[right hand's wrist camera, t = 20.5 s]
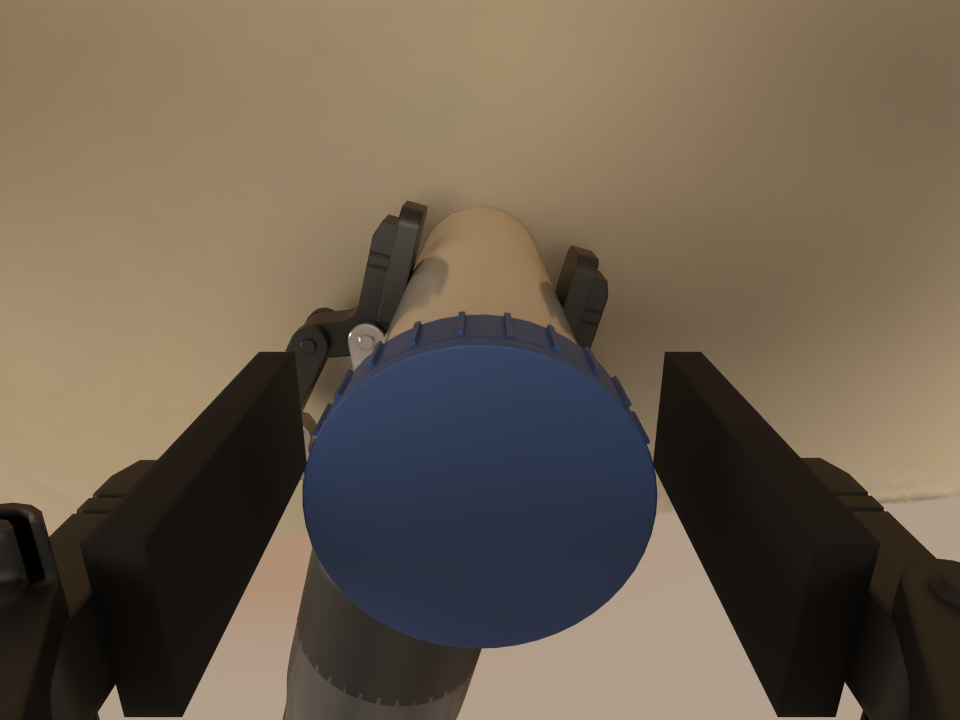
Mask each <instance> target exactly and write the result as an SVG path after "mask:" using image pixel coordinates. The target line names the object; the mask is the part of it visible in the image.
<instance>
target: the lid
mask: <svg viewBox="0 0 960 720" xmlns="http://www.w3.org/2000/svg"><path fill="white" fill-rule="evenodd" d="M334 398H335V401H334V403H333V405H332V404H329V403H328V405H327V407H326V409H325V410H324V412H323V414H322V416H321V418H320V420H319V422H318V424H317V426H316V427H315V429H314V432H313V435H314V436H317V437H316V439H315V441H314V443H313V445H312V447H311V450H310V454H309V457H308V460H307V463H306V467H305V469H304V480H303V511H304V517H305V524H306V528H307V531H308V534H309V537H310V541H311V544H312V546H313V548H314V551H315V553H316V555H317V557H318V559H319V561H320V563H321V565H322V566H323V568H324V569H325V571H326V572H327V574H328V575H329V577H330V578H331V580H332V581H333V582H334V583H335V584H336V585H337V587H338V588H339V589H340V590H341V591H342V592H343V594H344V595H345V596H347V597H348V598H349V599H350V600H351V601H352V602H353V603H354V604H355V605H357V606H358V607H359V608H360V609H361V610H363V611H364V612H366V613H367V614H369V615H370V616H371V617H373V618H374V619H376V620H377V621H379V622H381V623H383V624H385V625H387V626H388V627H390V628H392V629H394V630H396V631H399V632H401V633H404V634H406V635H409V636H411V637H414V638H417V639H420V640H424V641H427V642H431V643H435V644H440V645H446V646H452V647H462V648H499V647H506V646H514V645H520V644H524V643H528V642H532V641H536V640H540V639H542V638H545V637H548V636H551V635H554V634H556V633H559V632H561V631H563V630H565V629H567V628H569V627H571V626H573V625H575V624H577V623H579V622H580V621H582V620H583V619H585V618H587V617H588V616H590V615H591V614H593V613H594V612H595V611H597V610H598V609H599V608H600V607H602V606H603V605H604V604H605V603H607V602H608V601H609V600H610V599H611V598H612V597H613V596H614V595H615V594H616V593H617V592H618V591H619V590H620V589H621V588H622V587H623V585H624V584H625V583H626V581H627V580H628V579H629V577H630V576H631V574H632V573H633V572H634V571H635V569H636V567H637V565H638V563H639V562H640V560H641V558H642V556H643V554H644V552H645V550H646V547H647V545H648V542H649V539H650V537H651V534H652V530H653V525H654V521H655V516H656V506H657V485H656V474H655V470H654V466H653V462H652V458H651V454H650V451H649V449H648V446H647V444H649V443H650V441H649V438H648V436H647V434H646V432H645V431H644V429H643V427H642V425H641V423H640V421H639V419H638V417H637V415H636V413H635V412H634V411H633V412H631V411H630V409H629V406H631V405H632V404H631V402H630V401H629V399H628V397H627V395H626V393H625V391H624V389H623V387H622V385H621V383H620V382H619V380H618V378H617V377H616V376H615V377H613V378H611V377H610V375H609V374H608V373H607V372H606V371H605V369H604V368H603V367H602V366H601V364H600V363H599V362H597V361H596V359H595V357H594V355H593V353H592V351H591V349H590V348H588V347H587V346H586V347H585V348H584V349H583V348H581V347H580V346H578V345H577V344H576V343H574V342H573V341H571V340H570V339H568V338H567V337H565V336H563V335H561V334H559V333H557V332H556V331H555V328H554V326H552V325H550V324H548V326H547V328H546V327H544V326H541V325H538V324H535V323H532V322H530V321H526V320H521V319H517V318H512V317H511V313H506V312H505V313H504V316H498V315H487V314H480V315H465V311H461V312H459V313H458V316H454V317H448V318H442V319H438V320H434V321H431V322H428V323H424V324H421V321H418V322H415V323H414V326H413V328H411V329H409V330H407V331H405V332H402V333H400V334H398V335H397V336H395V337H393V338H392V339H390V340H389V341H387V342H385V343H384V344H383V343H382V342H381V341H379V342H378V343H376V345H375V347H374V349H373V352H372V353H371V354H370V355H369V356H367V357H366V358H365V359H364V360H363V361H362V362H361V363H360V364H359V366H358V367H357V368H356V369H355V370H354V371H351V370H350V369H349V370H348V371H347V372H346V374H345V376H344V378H343V380H342V382H341V384H340V385H339V387H338V389H337V391H336V393H335V395H334Z"/></svg>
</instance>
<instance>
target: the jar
mask: <svg viewBox="0 0 960 720" xmlns="http://www.w3.org/2000/svg"><path fill="white" fill-rule="evenodd" d="M461 311H465V315H480V314H487V315H498V316H504V313H505V312H506V313H511V317H512V318H517V319H521V320H526V321H530V322H532V323H535V324H538V325H541V326H544V327H546V328H547V326H548V324H550V325H552V326H554V328H555V331H556V332H557V333H559V334H561V335H563V336H565V337H567V338H568V339H570V340H571V341H573V342H574V343H576V344H577V345H578V343H577V341H576V339H575V336H574V334H573V332H572V329H571V327H570V325H569V322H568V320H567V318H566V315H565V313H564V311H563V309H562V306H561V304H560V302H559V299H558V297H557V295H556V292H555V290H554V288H553V285H552V283H551V281H550V278H549V276H548V274H547V271H546V269H545V267H544V265H543V262H542V260H541V258H540V255H539V253H538V251H537V248H536V246H535V244H534V241H533V239H532V238H531V236H530V234H529V233H528V231H527V230H526V228H525V227H524V226H523V225H522V224H521V223H520V222H519V221H518V220H516V219H515V218H514V217H512V216H511V215H509V214H507V213H505V212H503V211H501V210H498V209H494V208H489V207H470V208H466V209H462V210H459V211H457V212H454V213H452V214H451V215H449V216H447V217H446V218H444V219H443V220H442V221H441V222H440V223H439V224H438V225H437V226H436V227H435V228H434V229H433V231H432V232H431V233H430V235H429V237H428V239H427V241H426V243H425V245H424V248H423V250H422V252H421V254H420V257H419V259H418V261H417V264H416V266H415V268H414V271H413V273H412V275H411V278H410V280H409V282H408V285H407V287H406V289H405V292H404V294H403V296H402V299H401V301H400V303H399V305H398V308H397V310H396V312H395V315H394V317H393V319H392V322H391V324H390V326H389V329H388V331H387V333H386V336H385V338H384V340H383V344H384V343H385V342H387V341H389V340H390V339H392V338H393V337H395V336H397V335H398V334H400V333H402V332H405V331H407V330H409V329H411V328H413V326H414V323H415V322H418V321H421V324H424V323H428V322H431V321H434V320H438V319H442V318H448V317H454V316H458V313H459V312H461Z"/></svg>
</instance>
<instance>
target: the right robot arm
mask: <svg viewBox="0 0 960 720" xmlns="http://www.w3.org/2000/svg"><path fill="white" fill-rule="evenodd" d="M306 463H307V460H306V451H305V441H304V432H303V423H302V413H301V404H300V394H299V385H298V376H297V366H296V357H295V352H259V353H258V354H257V355H256V356H255V357H254V358H253V359H252V360H251V361H250V362H249V363H248V364H247V365H246V366H245V367H244V369H243V370H242V371H241V372H240V373H239V374H238V375H237V376H236V377H235V378H234V379H233V380H232V381H231V382H230V383H229V385H228V386H227V387H226V388H225V389H224V390H223V391H222V392H221V393H220V394H219V395H218V396H217V397H216V398H215V399H214V401H213V402H212V403H211V404H210V405H209V406H208V407H207V408H206V409H205V410H204V411H203V412H202V413H201V414H200V415H199V416H198V418H197V419H196V420H195V421H194V422H193V423H192V424H191V425H190V426H189V427H188V428H187V429H186V430H185V431H184V432H183V434H182V435H181V436H180V437H179V438H178V439H177V440H176V441H175V442H174V443H173V444H172V445H171V446H170V447H169V448H168V449H167V451H166V452H165V453H164V454H163V455H162V456H161V457H160V458H159V459H158V460H140V461H138V462H136V463H134V464H132V465H131V466H129V467H127V468H125V469H123V470H122V471H120V472H118V473H116V474H114V475H113V476H111V477H110V478H109V479H108V480H107V481H106V482H105V483H104V484H103V485H102V486H101V487H100V488H99V489H98V490H97V491H96V492H95V493H94V494H93V498H89V499H88V500H87V501H86V502H85V503H84V504H83V505H81V506H80V507H79V508H78V509H77V514H72V515H71V516H70V517H69V518H68V519H67V520H66V521H65V522H64V523H63V524H62V525H61V526H60V527H59V528H58V529H57V530H56V531H55V532H54V533H53V534H52V535H51V536H50V537H49V536H48V533H47V529H46V525H45V522H44V518H43V515H42V511H40V510H38V509H37V508H35V507H34V506H32V505H27V504H19V503H6V504H0V720H100V719H99V715H98V711H99V709H100V708H101V706H102V705H103V703H104V702H105V700H106V698H107V697H108V695H109V694H110V692H111V691H112V689H113V688H114V686H115V684H116V686H117V690H118V694H119V698H120V702H121V706H122V709H123V713H124V717H182V716H183V714H184V712H185V710H186V708H187V706H188V704H189V702H190V700H191V698H192V696H193V694H194V692H195V690H196V688H197V686H198V684H199V682H200V680H201V678H202V676H203V674H204V672H205V670H206V668H207V666H208V664H209V662H210V660H211V658H212V656H213V654H214V652H215V650H216V648H217V646H218V644H219V642H220V640H221V638H222V636H223V634H224V632H225V630H226V628H227V625H228V624H229V622H230V619H231V618H232V616H233V614H234V611H235V609H236V607H237V605H238V603H239V601H240V599H241V597H242V595H243V593H244V591H245V589H246V587H247V585H248V583H249V581H250V579H251V577H252V575H253V573H254V571H255V569H256V567H257V565H258V563H259V561H260V559H261V557H262V555H263V553H264V551H265V549H266V547H267V545H268V543H269V541H270V539H271V537H272V535H273V533H274V531H275V529H276V527H277V525H278V523H279V521H280V519H281V517H282V515H283V513H284V511H285V509H286V507H287V505H288V503H289V501H290V499H291V497H292V495H293V493H294V491H295V489H296V487H297V485H298V483H299V480H300V478H301V476H302V474H303V472H304V469H305V467H306ZM653 466H654V468H655V470H656V472H657V474H658V476H659V478H660V480H661V483H662V485H663V487H664V489H665V491H666V493H667V495H668V497H669V499H670V501H671V503H672V505H673V507H674V509H675V511H676V513H677V515H678V517H679V519H680V521H681V523H682V525H683V527H684V529H685V531H686V533H687V535H688V537H689V539H690V541H691V543H692V545H693V547H694V549H695V551H696V553H697V555H698V557H699V559H700V561H701V563H702V565H703V567H704V569H705V571H706V573H707V575H708V577H709V579H710V581H711V583H712V585H713V587H714V589H715V591H716V593H717V595H718V597H719V599H720V601H721V603H722V605H723V607H724V609H725V611H726V614H727V616H728V618H729V619H730V622H731V624H732V626H733V627H734V630H735V632H736V634H737V636H738V638H739V640H740V642H741V644H742V646H743V648H744V650H745V652H746V654H747V656H748V658H749V660H750V662H751V664H752V666H753V668H754V670H755V672H756V674H757V676H758V678H759V680H760V682H761V684H762V686H763V688H764V690H765V692H766V694H767V696H768V698H769V700H770V702H771V704H772V706H773V708H774V710H775V712H776V714H777V716H778V717H836V713H837V709H838V706H839V702H840V698H841V694H842V690H843V686H844V683H846V684H847V686H848V687H849V689H850V690H851V692H852V693H853V695H854V696H855V698H856V700H857V701H858V703H859V704H860V706H861V707H862V709H863V712H862V715H861V719H860V720H960V562H956V561H952V560H944V559H936V558H935V557H934V556H933V555H932V554H931V553H930V552H929V551H928V550H927V549H926V548H925V547H924V546H923V545H922V544H921V543H920V542H919V541H918V540H917V539H916V538H915V537H914V536H912V535H911V534H910V533H909V532H908V531H907V530H906V529H905V528H904V527H903V526H902V525H901V524H900V523H899V522H898V521H897V520H896V519H895V518H894V517H893V516H892V515H891V514H890V513H889V512H884V507H883V506H882V505H881V504H879V503H878V502H877V501H876V500H875V499H874V498H873V497H872V496H868V492H867V491H866V490H865V489H864V488H863V487H862V486H861V485H860V484H859V483H858V482H857V481H856V480H855V479H854V478H853V477H852V476H851V475H850V474H848V473H847V472H845V471H843V470H841V469H839V468H837V467H836V466H834V465H832V464H830V463H828V462H827V461H825V460H823V459H821V458H800V457H799V456H798V455H797V454H796V453H795V452H794V451H793V449H792V448H791V447H790V446H789V445H788V444H787V443H786V442H785V441H784V440H783V439H782V438H781V437H780V436H779V435H778V434H777V432H776V431H775V430H774V429H773V428H772V427H771V426H770V425H769V424H768V423H767V422H766V421H765V420H764V419H763V418H762V416H761V415H760V414H759V413H758V412H757V411H756V410H755V409H754V408H753V407H752V406H751V405H750V404H749V403H748V402H747V401H746V399H745V398H744V397H743V396H742V395H741V394H740V393H739V392H738V391H737V390H736V389H735V388H734V387H733V386H732V385H731V383H730V382H729V381H728V380H727V379H726V378H725V377H724V376H723V375H722V374H721V373H720V372H719V371H718V370H717V369H716V367H715V366H714V365H713V364H712V363H711V362H710V361H709V360H708V359H707V358H706V357H705V356H704V355H703V354H702V353H701V352H665V357H664V366H663V376H662V385H661V394H660V404H659V413H658V422H657V432H656V441H655V451H654V460H653Z"/></svg>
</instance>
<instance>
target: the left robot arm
mask: <svg viewBox="0 0 960 720" xmlns="http://www.w3.org/2000/svg"><path fill="white" fill-rule="evenodd" d="M427 207H428V206H425V205H421V204H417V203H414V202H410V201H407V202H406V203H405V204H404V205H403V206H402V209H401V212H400V216H399V217H396V216H392V215H388V216H387V217H386V218H385V219H384V220H383V221H382V223H381V224H380V226H379V227H378V228H377V230H376V231H375V233H374V234H373V238H372V243H371V247H370V253H369V257H368V262H367V267H366V272H365V277H364V282H363V286H362V291H361V296H360V301H359V305H358V306H357V307H355V308H353V309H350V310H342V311H334V310H332V309H329V308H319V309H317V310H315V311H314V312H313V313H312V314H311V315H310V316H309V317H308V319H307V321H306V323H305V324H304V325H303V326H302V327H300V328H299V329H298V330H297V331H296V332H295V334H294V335H293V336H292V338H291V340H290V342H289V345H288V347H287V349H286V351H285V352H295V357H296V366H297V376H298V385H299V394H300V404H301V413H302V423H303V432H304V441H305V451H306V460H308V457H309V454H310V450H311V447H312V445H313V443H314V441H315V436H314V435H313V432H314V429H315V427H316V422H315V421H314V419H313V418H312V417H311V415H310V414H308V413H306V412H302V411H303V409H304V407H305V405H306V403H307V401H308V399H309V397H310V395H311V393H312V391H313V388H314V386H315V384H316V382H317V380H318V378H319V376H320V374H321V372H322V370H323V368H324V366H325V363H326V361H327V359H328V358H331V357H343V356H351V361H352V366H353V371H354V370H355V369H356V368H357V367H358V366H359V364H360V363H361V362H362V361H363V360H364V359H365V358H366V357H367V356H369V355H370V354H371V353H372V352H373V349H374V347H375V345H376V343H378V342H379V341H381V342H382V343H383V340H384V338H385V336H386V333H387V331H388V329H389V326H390V324H391V322H392V319H393V317H394V315H395V312H396V310H397V308H398V305H399V303H400V301H401V299H402V296H403V294H404V292H405V289H406V287H407V285H408V282H409V280H410V278H411V275H412V273H413V269H414V265H415V261H416V256H417V252H418V248H419V243H420V239H421V235H422V230H423V226H424V222H425V217H426V213H427ZM597 270H598V258H597V257H596V256H595V254H594V253H593V252H592V251H590V250H586V249H583V248H579V247H575V246H571V247H570V248H569V250H568V253H567V255H566V259H565V262H564V265H563V268H562V271H561V274H560V278H559V281H558V284H557V287H556V290H555V292H556V295H557V297H558V299H559V302H560V304H561V306H562V309H563V311H564V313H565V315H566V318H567V320H568V322H569V325H570V327H571V329H572V332H573V334H574V336H575V339H576V341H577V343H578V346H580V347H581V348H583V349H584V348H585V347H586V346H587V347H588V348H591V345H592V342H593V339H594V337H595V334H596V331H597V328H598V324H599V322H600V319H601V316H602V313H603V311H604V308H605V305H606V302H607V299H608V286H607V280H606V279H605V278H604V276H603V275H602V274H601V272H600V271H597ZM300 479H301V480H304V472H303V474H302V476H301V478H300ZM481 649H482V648H462V647H452V646H446V645H440V644H435V643H431V642H427V641H424V640H420V639H417V638H414V637H411V636H409V635H406V634H404V633H401V632H399V631H396V630H394V629H392V628H390V627H388V626H387V625H385V624H383V623H381V622H379V621H377V620H376V619H374V618H373V617H371V616H370V615H369V614H367V613H366V612H364V611H363V610H361V609H360V608H359V607H358V606H357V605H355V604H354V603H353V602H352V601H351V600H350V599H349V598H348V597H347V596H345V595H344V594H343V592H342V591H341V590H340V589H339V588H338V587H337V585H336V584H335V583H334V582H333V581H332V580H331V578H330V577H329V575H328V574H327V572H326V571H325V569H324V568H323V566H322V565H321V563H320V561H319V559H318V557H317V555H316V553H315V551H314V548H313V547H312V552H311V557H310V562H309V566H308V571H307V576H306V581H305V586H304V590H303V595H302V600H301V605H300V609H299V614H298V618H297V625H296V629H295V634H294V638H293V643H292V648H291V653H290V659H289V665H288V672H287V701H286V707H285V711H284V716H283V720H456V718H457V716H458V714H459V712H460V709H461V707H462V704H463V701H464V699H465V696H466V693H467V690H468V687H469V684H470V681H471V678H472V675H473V672H474V669H475V667H476V663H477V660H478V658H479V655H480V652H481Z"/></svg>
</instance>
